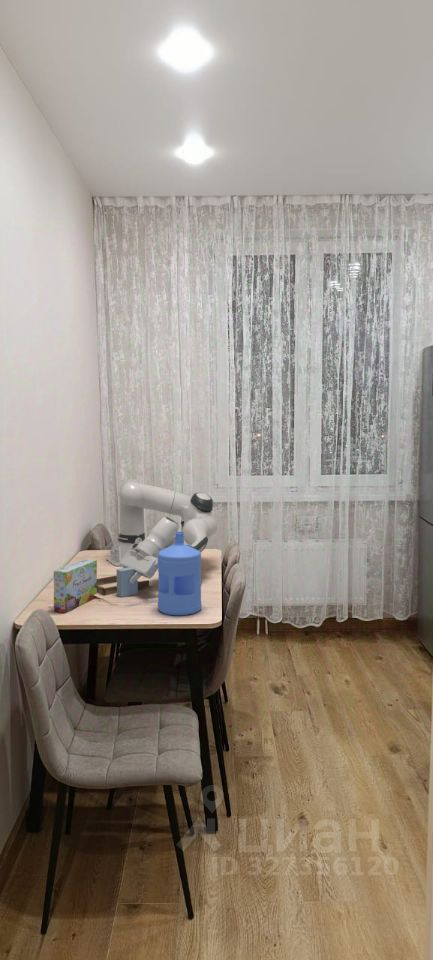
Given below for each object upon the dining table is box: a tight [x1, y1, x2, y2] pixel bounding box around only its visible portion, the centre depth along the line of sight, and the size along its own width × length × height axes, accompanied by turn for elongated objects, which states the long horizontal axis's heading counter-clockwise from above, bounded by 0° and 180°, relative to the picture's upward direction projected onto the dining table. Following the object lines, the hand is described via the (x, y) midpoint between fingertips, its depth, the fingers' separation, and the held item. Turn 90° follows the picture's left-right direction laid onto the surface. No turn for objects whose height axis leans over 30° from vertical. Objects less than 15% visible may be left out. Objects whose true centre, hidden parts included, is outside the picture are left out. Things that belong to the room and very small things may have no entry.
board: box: [116, 567, 139, 598], centre depth 243 cm, size 4×7×10 cm, turn 127°
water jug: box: [157, 531, 202, 616], centre depth 229 cm, size 16×16×28 cm
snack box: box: [53, 558, 98, 614], centre depth 236 cm, size 21×6×15 cm, turn 160°
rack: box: [97, 574, 152, 600], centre depth 255 cm, size 15×21×4 cm
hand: (126, 581), depth 243 cm, fingers closed on board, 3 cm apart
